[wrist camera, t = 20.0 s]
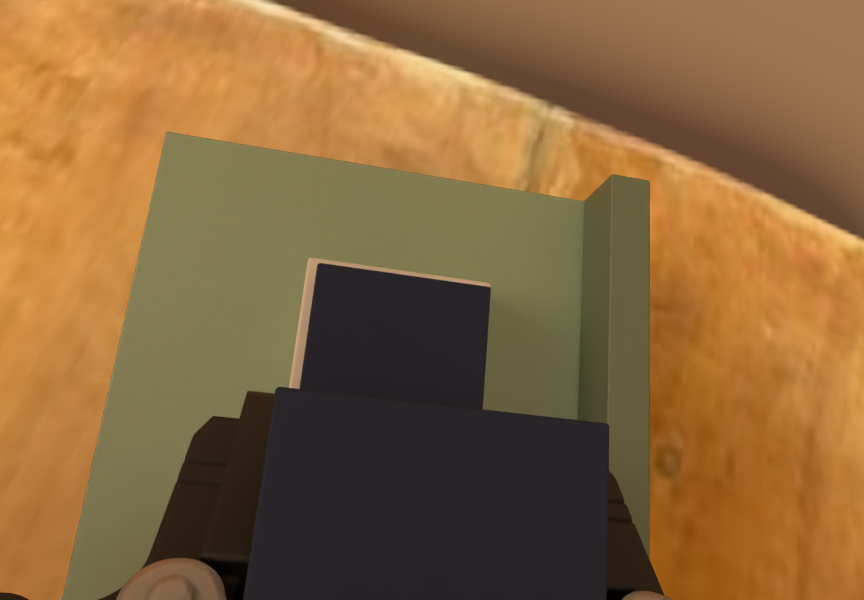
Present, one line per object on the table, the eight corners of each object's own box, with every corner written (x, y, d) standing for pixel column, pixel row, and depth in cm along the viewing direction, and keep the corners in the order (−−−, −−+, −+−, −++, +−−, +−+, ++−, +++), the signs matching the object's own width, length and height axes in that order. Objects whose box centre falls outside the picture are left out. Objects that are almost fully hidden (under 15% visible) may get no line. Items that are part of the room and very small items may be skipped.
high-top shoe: (453, 628, 17) (619, 809, 8) (257, 616, 16) (192, 802, 7) (478, 296, 19) (627, 142, 10) (308, 272, 19) (308, 84, 10)
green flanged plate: (81, 707, 18) (-19, 813, 13) (189, 187, 23) (150, 92, 17) (554, 724, 21) (650, 822, 15) (571, 246, 25) (650, 180, 19)
